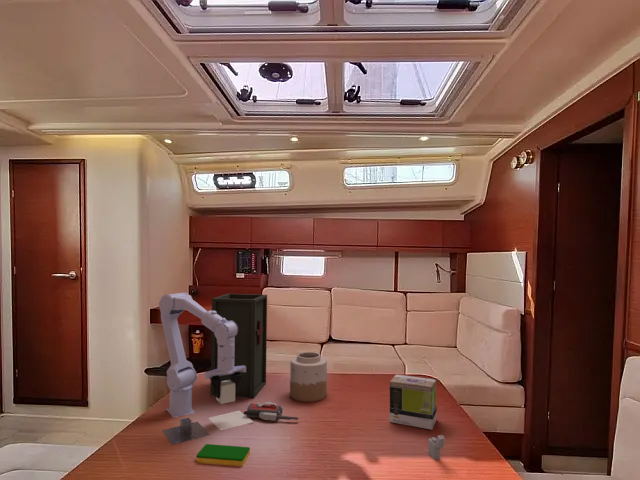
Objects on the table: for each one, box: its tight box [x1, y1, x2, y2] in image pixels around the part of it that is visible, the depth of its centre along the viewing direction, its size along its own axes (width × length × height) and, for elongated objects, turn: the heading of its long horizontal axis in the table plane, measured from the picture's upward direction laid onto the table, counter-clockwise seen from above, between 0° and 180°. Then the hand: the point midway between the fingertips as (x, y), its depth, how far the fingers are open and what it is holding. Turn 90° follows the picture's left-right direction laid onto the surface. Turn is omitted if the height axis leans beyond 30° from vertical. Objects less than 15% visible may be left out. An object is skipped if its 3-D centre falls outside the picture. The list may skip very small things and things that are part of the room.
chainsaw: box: [243, 401, 299, 422], centre depth 147 cm, size 9×4×20 cm
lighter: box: [428, 434, 446, 461], centre depth 120 cm, size 7×2×8 cm, turn 11°
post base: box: [161, 417, 211, 446], centre depth 133 cm, size 12×12×4 cm
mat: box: [208, 410, 255, 432], centre depth 143 cm, size 12×12×1 cm
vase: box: [289, 351, 328, 403], centre depth 170 cm, size 15×15×17 cm
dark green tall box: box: [210, 293, 268, 399], centre depth 176 cm, size 18×18×40 cm
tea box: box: [389, 374, 438, 431], centre depth 145 cm, size 15×10×15 cm, turn 65°
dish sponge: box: [195, 443, 251, 467], centre depth 119 cm, size 7×14×2 cm, turn 83°
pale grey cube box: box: [215, 380, 236, 405], centre depth 142 cm, size 5×5×6 cm
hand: (225, 395), depth 142 cm, fingers closed on pale grey cube box, 5 cm apart
